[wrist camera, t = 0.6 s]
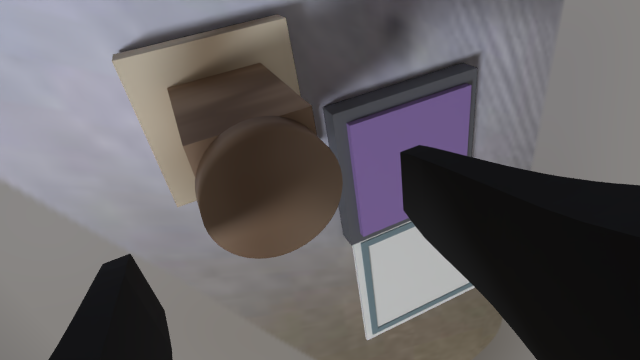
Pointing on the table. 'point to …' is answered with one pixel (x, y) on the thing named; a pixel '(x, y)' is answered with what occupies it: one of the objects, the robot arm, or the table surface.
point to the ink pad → (395, 142)
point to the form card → (402, 278)
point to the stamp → (236, 135)
